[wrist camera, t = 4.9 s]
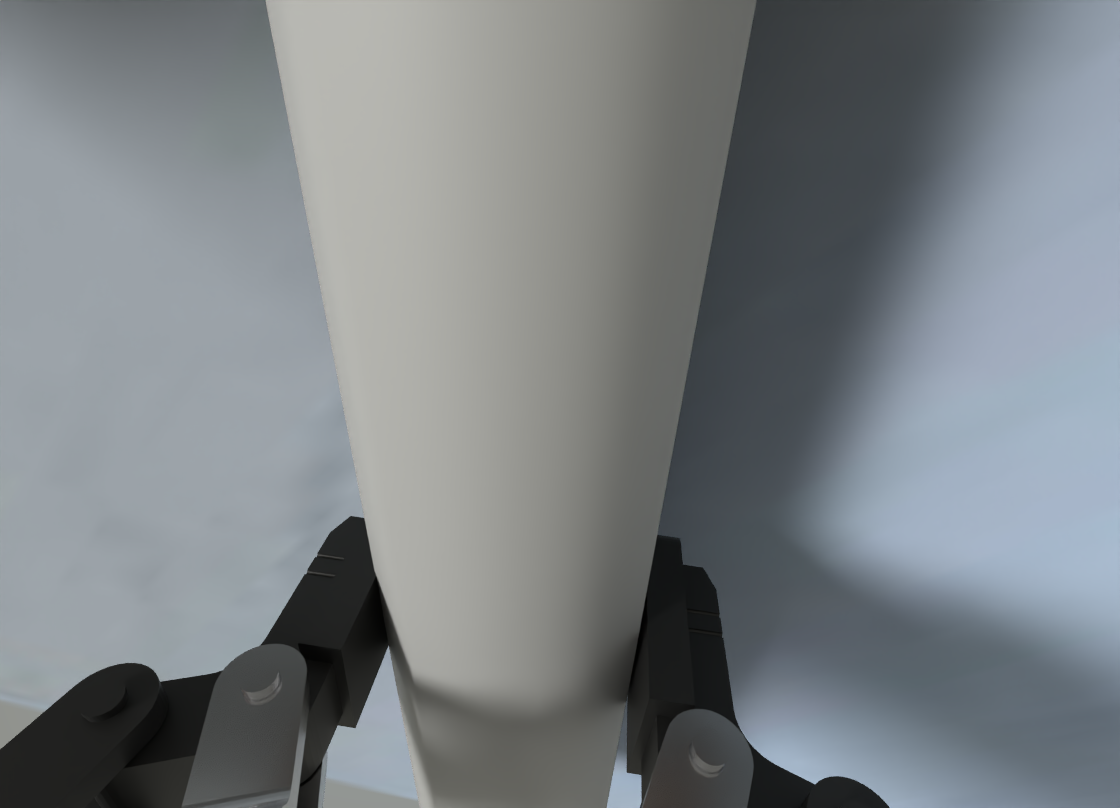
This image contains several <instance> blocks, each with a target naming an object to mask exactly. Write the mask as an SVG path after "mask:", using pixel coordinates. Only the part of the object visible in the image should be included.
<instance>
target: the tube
mask: <svg viewBox="0 0 1120 808" xmlns="http://www.w3.org/2000/svg"><path fill="white" fill-rule="evenodd" d="M265 1H266V6H267V11H268V16H269V22H270V27H271V32H272V37H273V42H274V48H275V53H276V58H277V63H278V69H279V74H280V79H281V84H282V90H283V95H284V100H285V105H286V110H287V116H288V121H289V126H290V131H291V137H292V142H293V147H294V152H295V158H296V163H297V168H298V173H299V178H300V184H301V189H302V194H303V199H304V205H305V210H306V215H307V220H308V226H309V231H310V236H311V241H312V246H313V252H314V257H315V262H316V267H317V273H318V278H319V283H320V288H321V294H322V299H323V304H324V309H325V314H326V320H327V325H328V330H329V335H330V341H331V346H332V351H333V356H334V362H335V367H336V372H337V377H338V382H339V388H340V393H341V398H342V403H343V409H344V414H345V419H346V424H347V430H348V435H349V440H350V445H351V450H352V456H353V461H354V466H355V471H356V477H357V482H358V487H359V492H360V498H361V503H362V508H363V513H364V518H365V524H366V529H367V534H368V539H369V545H370V550H371V555H372V560H373V565H374V571H375V573H376V576H377V582H378V588H379V594H380V600H381V605H382V611H383V617H384V623H385V628H386V633H387V639H388V644H389V649H390V654H391V660H392V665H393V670H394V675H395V681H396V686H397V691H398V696H399V701H400V707H401V712H402V717H403V722H404V728H405V733H406V738H407V743H408V749H409V754H410V759H411V764H412V769H413V775H414V780H415V785H416V790H417V796H418V801H419V806H420V808H607V802H608V797H609V791H610V786H611V781H612V775H613V770H614V765H615V759H616V754H617V748H618V743H619V738H620V732H621V727H622V722H623V716H624V711H625V705H626V700H627V695H628V689H629V684H630V679H631V673H632V668H633V662H634V657H635V652H636V646H637V641H638V636H639V630H640V625H641V619H642V614H643V609H644V603H645V598H646V593H647V587H648V582H649V576H650V571H651V566H652V560H653V555H654V550H655V544H656V539H657V533H658V528H659V523H660V517H661V512H662V507H663V501H664V496H665V490H666V485H667V480H668V474H669V469H670V464H671V458H672V453H673V447H674V442H675V437H676V431H677V426H678V421H679V415H680V410H681V404H682V399H683V394H684V388H685V383H686V378H687V372H688V367H689V361H690V356H691V351H692V345H693V340H694V335H695V329H696V324H697V318H698V313H699V308H700V302H701V297H702V292H703V286H704V281H705V275H706V270H707V265H708V259H709V254H710V249H711V243H712V238H713V232H714V227H715V222H716V216H717V211H718V206H719V200H720V195H721V189H722V184H723V179H724V173H725V168H726V163H727V157H728V152H729V146H730V141H731V136H732V130H733V125H734V120H735V114H736V109H737V103H738V98H739V93H740V87H741V82H742V76H743V71H744V66H745V60H746V55H747V50H748V44H749V39H750V33H751V28H752V23H753V17H754V12H755V7H756V1H757V0H265Z"/></svg>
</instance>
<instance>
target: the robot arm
mask: <svg viewBox="0 0 1120 808" xmlns="http://www.w3.org/2000/svg"><path fill="white" fill-rule="evenodd" d="M719 614H720V613H719V606H718V599H717V592H716V589H715V587H714V585H713V584H712V582H711V580H710V579H709V577H708V575H707V574H706V572H705V570H704V569H703V568H701V567H694V566H687V565H683V562H682V551H681V542H680V539H679V538H675V537H668V536H661V535H657V539H656V544H655V550H654V555H653V560H652V566H651V571H650V576H649V582H648V587H647V593H646V598H645V603H644V609H643V614H642V619H641V625H640V630H639V636H638V641H637V646H636V652H635V657H634V662H633V668H632V673H631V679H630V684H629V689H628V708H627V773H633V774H639V775H642V803H641V805H640V808H889V806H888V805H887V804H886V803H885V802H884V801H883V800H882V799H881V798H880V797H879V796H878V795H877V794H876V793H875V792H873V791H872V790H871V789H869V788H868V787H866V786H865V785H863V784H861V783H859V782H857V781H855V780H852V779H849V778H845V777H839V776H835V777H828V778H824V779H822V780H820V781H819V782H818V783H817V784H813V783H811V782H809V781H807V780H805V779H803V778H801V777H799V776H797V775H795V774H793V773H791V772H789V771H787V770H785V769H783V768H781V767H779V766H777V765H775V764H773V763H772V762H770V761H769V760H767V759H766V758H764V757H763V756H762V755H761V754H760V753H759V752H757V751H756V750H755V749H754V748H753V747H752V745H751V744H750V743H749V742H748V741H747V739H746V738H745V736H744V735H743V733H742V731H741V729H740V728H739V726H738V723H737V720H736V718H735V713H734V709H733V702H732V695H731V688H730V681H729V674H728V667H727V661H726V654H725V647H724V640H723V638H722V626H721V619H720V618H719ZM388 645H389V644H388V639H387V633H386V628H385V623H384V617H383V611H382V605H381V600H380V594H379V588H378V582H377V576H376V573H375V571H374V565H373V560H372V555H371V550H370V545H369V539H368V534H367V529H366V524H365V518H360V517H353V516H350V517H349V518H348V519H347V520H345V521H344V522H343V523H342V524H340V525H339V526H338V527H337V528H335V529H334V530H333V531H331V532H330V534H329V535H328V537H327V539H326V540H325V542H324V543H323V545H322V547H321V548H320V550H319V552H318V555H317V557H315V558H314V560H313V562H312V563H311V565H310V567H309V568H308V570H307V574H305V575H304V576H303V578H302V580H301V581H300V583H299V585H298V586H297V588H296V590H295V591H294V593H293V595H292V596H291V598H290V599H289V601H288V603H287V604H286V606H285V608H284V609H283V611H282V613H281V614H280V616H279V618H278V619H277V621H276V622H275V624H274V626H273V627H272V629H271V631H270V632H269V634H268V636H267V637H266V639H265V640H264V641H263V643H262V644H261V645H260V646H258V647H255V648H252V649H250V650H248V651H246V652H244V653H243V654H241V655H239V656H238V657H236V658H235V659H234V660H233V661H231V662H230V663H229V664H228V665H227V666H226V667H225V668H224V670H223V671H219V672H216V673H212V674H207V675H201V676H195V677H188V678H182V679H175V680H169V681H162V682H160V681H159V679H158V677H157V675H156V673H155V672H154V671H153V670H152V669H151V668H149V667H148V666H145V665H142V664H137V663H125V664H118V665H114V666H111V667H107V668H105V669H102V670H100V671H98V672H96V673H94V674H92V675H90V676H88V677H87V678H85V679H84V680H82V681H81V682H79V683H78V684H77V685H76V686H74V687H73V688H72V689H71V690H69V691H68V692H67V693H66V694H65V695H64V696H62V697H61V698H60V699H59V700H58V701H57V702H55V703H54V704H53V705H52V706H51V707H50V708H48V709H47V710H46V711H45V712H44V713H42V714H41V715H40V716H39V717H38V718H37V719H35V720H34V721H33V722H32V723H31V724H30V725H28V726H27V727H26V728H25V729H24V730H23V731H21V732H20V733H19V734H18V735H17V736H15V738H13V739H12V740H11V741H10V742H9V743H7V744H6V745H5V746H4V747H3V748H1V749H0V808H323V802H324V792H325V791H324V790H325V781H326V770H327V749H328V746H329V744H330V742H331V739H332V737H333V735H334V732H335V730H336V728H337V725H340V726H346V727H352V728H356V725H357V723H358V720H359V718H360V715H361V713H362V710H363V708H364V705H365V703H366V700H367V698H368V695H369V693H370V690H371V688H372V685H373V683H374V680H375V678H376V675H377V673H378V670H379V668H380V665H381V663H382V660H383V658H384V655H385V653H386V650H387V648H388Z"/></svg>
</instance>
